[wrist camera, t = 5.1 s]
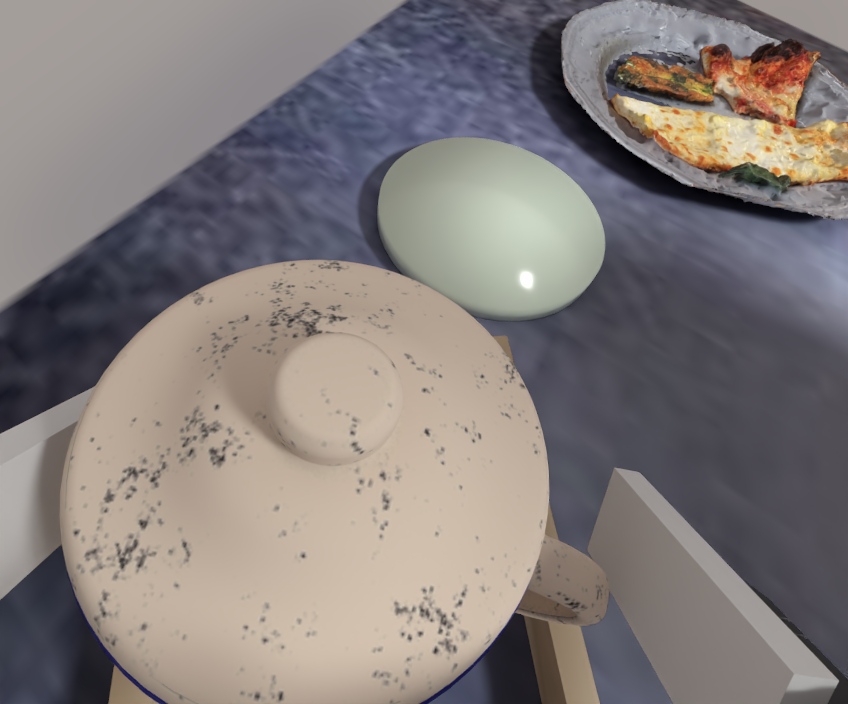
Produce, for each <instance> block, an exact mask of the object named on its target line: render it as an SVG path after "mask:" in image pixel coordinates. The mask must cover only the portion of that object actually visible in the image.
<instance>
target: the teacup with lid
mask: <svg viewBox="0 0 848 704" xmlns="http://www.w3.org/2000/svg"><path fill="white" fill-rule="evenodd" d="M548 505H549V468H548V460H547V451H546V446H545V441H544V437H543V432H542V428H541V425H540V422H539V418H538V415H537V412H536V409H535V406H534V404H533V402H532V399H531V397H530V394H529V392H528V390H527V388H526V386H525V384H524V382H523V380H522V378H521V376H520V374H519V373H518V371H517V369H516V368H515V366H514V365H513V363H512V361H511V360H510V358H509V357H508V355H507V354H506V353H505V351H504V350H503V349H502V348H501V346H500V345H499V344H498V342H497V341H496V340H495V339H494V338H493V337H492V336H491V335H490V333H489V332H488V331H487V330H486V329H485V328H484V327H483V326H482V325H481V324H480V323H479V322H478V321H477V320H476V319H474V318H473V317H472V316H471V315H470V314H469V313H467V312H466V311H465V310H464V309H462V308H461V307H460V306H459V305H457V304H456V303H454V302H453V301H451V300H450V299H448V298H447V297H445V296H444V295H442V294H440V293H439V292H437V291H435V290H433V289H432V288H430V287H428V286H426V285H424V284H422V283H420V282H418V281H416V280H413V279H411V278H409V277H406V276H403V275H401V274H398V273H395V272H392V271H389V270H385V269H382V268H379V267H374V266H370V265H365V264H360V263H353V262H346V261H335V260H299V261H288V262H280V263H274V264H269V265H263V266H259V267H255V268H252V269H248V270H244V271H241V272H238V273H235V274H232V275H229V276H226V277H224V278H221V279H219V280H217V281H214V282H212V283H210V284H207V285H205V286H204V287H202V288H200V289H198V290H196V291H194V292H192V293H190V294H188V295H187V296H185V297H184V298H182V299H180V300H179V301H177V302H176V303H174V304H173V305H171V306H170V307H168V308H167V309H166V310H164V311H163V312H162V313H160V314H159V315H158V316H156V317H155V318H154V319H153V320H151V321H150V322H149V323H148V324H147V325H146V326H145V327H144V328H143V329H141V330H140V331H139V332H138V333H137V334H136V335H135V336H134V337H133V338H132V339H131V340H130V341H129V343H128V344H127V345H126V346H125V347H124V348H123V349H122V350H121V351H120V352H119V354H118V355H117V356H116V357H115V359H114V360H113V361H112V363H111V364H110V365H109V366H108V368H107V369H106V370H105V372H104V373H103V375H102V377H101V378H100V380H99V381H98V383H97V384H96V386H95V388H94V389H93V391H92V393H91V394H90V396H89V398H88V400H87V402H86V404H85V406H84V408H83V410H82V412H81V414H80V417H79V419H78V422H77V424H76V427H75V430H74V432H73V435H72V437H71V441H70V444H69V448H68V452H67V456H66V459H65V463H64V470H63V476H62V483H61V489H60V514H59V516H60V530H61V543H62V548H63V554H64V559H65V564H66V569H67V574H68V578H69V581H70V584H71V587H72V590H73V593H74V596H75V599H76V602H77V605H78V607H79V609H80V611H81V613H82V615H83V617H84V619H85V621H86V623H87V625H88V628H89V629H90V631H91V632H92V634H93V635H94V637H95V639H96V640H97V642H98V643H99V645H100V646H101V648H102V649H103V651H104V652H105V654H106V655H107V656H108V657H109V658H110V659H111V661H112V662H113V663H114V664H115V665H116V667H117V668H118V669H119V670H120V671H121V672H122V674H123V675H124V676H126V677H127V678H128V679H129V680H130V681H131V682H132V683H133V684H134V685H136V686H137V687H138V688H139V689H140V690H141V691H142V692H143V693H144V694H146V695H147V696H149V697H150V698H151V699H153V700H154V701H156V702H157V703H159V704H428V703H429V702H431V701H432V700H434V699H435V698H437V697H438V696H440V695H441V694H442V693H444V692H445V691H447V690H448V689H450V688H451V687H452V686H453V685H454V684H455V683H456V682H458V681H459V680H460V679H461V678H462V677H463V676H465V675H466V674H467V673H468V672H469V671H470V670H471V669H472V668H473V667H474V666H475V665H476V664H477V663H478V662H479V661H480V660H481V659H482V657H483V656H484V655H485V654H486V653H487V652H488V651H489V650H490V648H491V647H492V646H493V644H494V643H495V642H496V641H497V639H498V638H499V637H500V635H501V634H502V633H503V631H504V630H505V628H506V627H507V625H508V623H509V622H510V620H511V618H512V617H513V615H514V614H515V613H518V614H522V615H525V616H529V617H532V618H536V619H541V620H545V621H549V622H554V623H560V624H566V625H575V626H587V625H592V624H596V623H598V622H600V621H601V620H602V619H603V618H604V616H605V614H606V611H607V607H608V599H609V591H610V585H609V580H608V578H607V576H606V574H605V572H604V571H603V570H602V569H601V568H600V566H599V565H597V564H596V563H595V562H594V561H593V560H592V559H590V558H589V557H588V556H586V555H585V554H583V553H582V552H580V551H578V550H577V549H575V548H573V547H571V546H569V545H567V544H565V543H563V542H561V541H559V540H557V539H554V538H552V537H550V536H547V535H545V529H546V522H547V516H548Z"/></svg>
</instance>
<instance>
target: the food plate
mask: <svg viewBox="0 0 848 704" xmlns="http://www.w3.org/2000/svg"><path fill="white" fill-rule="evenodd" d="M660 4H661V3H660ZM660 4H657V2H654V3H653V2H652V1H650V0H649V1H648V0H640V1H639V0H638V1H636V0H619V1H615V2H606V3H604V4H602V5H600V6H596V7H593V8H590V9H586V10H585V11H581V12H579V14H578V15H577V14H576V15H574V17H572V18H571V19H572V20H569V22H568V23H567V25H566V27H565V29H564V31H562V36H561V37H562V38H561V40H562V41H561V49H562V50H561V51H562V53H561V55H562V58H561V59H562V61H561V62H562V68H563V73H564V75H563V77H564V79H565V80H564V81H565V85H566V88H567V89H568V90H569V92H570V93H571V94H572V96H574V99H576V101H577V102H578V103H579V104H581V106H582V107H583V109H585V110H586V112H587V113H589V115H591V118H592V120H595V122H597V124H598V125H599V126H600V128H602V130H605V131H606V133H608V134H610V135H611V137H612V138H613V139H616V141H617V142H618V143H620V144H622V145H623V146H625V148H627V149H628V150H629V151H630V152H631V151H632V153H634V154H635V155H637V156H638V157H639V158H642V159H643V160H644V161H647V162H648V163H649V164H651V165H652V166H654V167H655V168H657V169H658V170H660V171H661V172H663V173H665V174H668V175H669V176H670V177H673V178H675V179H676V180H678V181H679V182H680V183H682V184H684V185H687V184H688V186H690V187H697V188H699V187H700V188H703V189H704V190H708V191H710V192H712V191H714V192H716V193H723V194H726V196H727V195H731V196H734V197H735V198H736V197H738V198H741V199H743V200H744V202H747V201H751V202H753V203H758V204H762V205H767V206H770V207H781V208H784V210H791V211H792V212H794V211H796V212H800V213H803V212H807V213H808V214H811V215H813V216H814V215H819V216H822V217H823V219H825V218H827V216H828V217H829V218H828V219H833V220H835V219H836V220H837V219H839V220H840V219H841V220H842V219H844V220H848V85H847V84H846V83H845V82H843V81H842V80H841V79H840V78H839V77H837V76H836V74H834V73H832V72H831V71H830V70H829V69H828V68H827V67H825V66H823V65H822V64H821V63H819V62H818V61H817V60H818V59H820V58H821V57H820V55H821V54H822V53H821V54H820V52H818V51H815V52H809V51H807V50H805V48H804V47H803V44H802V43H800V42H797V41H796V40H792V39H788V40H785V42H784V41H783V42H781V41H780V40H776V39H774V38H769V37H767V36H764V35H762V34H760V33H759V32H757V31H754V30H752V29H750V27H747V26H746V25H745V24H741V23H740V22H739V23H738V22H736V23H734V21H732V20H731V21H730V20H729V21H727V20H726V19H725V18H721V19H720V17H716V16H714V15H709V14H708V15H707V14H703V13H700V12H697V11H694V10H689V11H687V9H686V8H684V9H680V7H676V6H673V7H672V6H669V5H668V6H667V5H665V4H662V5H660ZM648 50H655V51H657V52H665V53H668V54H673V55H675V56H678V57H680V58H681V56H682V54H681V53H680V54H681V55H679V54H677V55H676V54H674V53H672V52H671V53H669V52H667V51H673V52H677V53H678V52H682V53H683V55H688V56H690V58H689V57H687V56H686V57H684V58H686V59H687V60H685V59H684V58H681V59H682V60H683V61H690V60H693V61H695V62H696V63H692V64H691V65H690V64H689V63H687V62H686V65H683V64H681V63H677V65H679V66H676V65H672V66H669V65H668V64H664V62H663V61H660V60H656V59H653V60H655V61H658V63H659V64H658V63H656V62H654V61H653V60H652V59H649V58H646V59H645V58H644V57H639V56H636V57H635V56H632V57H630V58H629V59H625V60H626V62H625V63H624V64H622V66H618V69H617V71H616V72H615V75H614V80H615V81H616V82H617V83H616V86H617V87H618V88H619V89H623V90H626V91H627V92H631V93H634V94H636V95H640V96H645V97H648V98H651V99H653V100H656V99H657V100H656V101H658V102H660V101H661V102H663V103H664V104H665V105H666V103H667V104H669V105H670V106H671V107H663V106H659V105H654V104H652V103H650V102H643V101H638V100H636V99H634V98H628V97H626V96H625V97H621V96H619V95H618V94H616V95H614V97H613V98H612V99H611V100H609V98H608V90H607V84H606V76H605V71H606V70H607V69H608V66H609V64H612V63H613V59H614V60H618V59H619V55H622V54H631V55H632V53H631V52H635V51H637V52H638V53H641V54H644V53H645V54H653V53H652V52H650V51H648ZM655 53H656V52H655ZM657 55H659V54H657ZM668 56H671V55H668ZM682 57H683V56H682ZM660 62H663V64H664V65H662V64H661V63H660ZM682 66H685V68H683V67H682ZM659 100H660V101H659ZM677 104H678V105H677ZM693 109H694V110H693ZM743 117H744V118H743Z"/></svg>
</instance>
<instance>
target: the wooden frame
mask: <svg viewBox="0 0 848 704" xmlns="http://www.w3.org/2000/svg"><path fill="white" fill-rule="evenodd" d="M492 337H493V338H494V339H495V340H496V341H497V342H498V344H499V345H500V346H501V348H502V349H503V350H504V351H505V353H506V354H507V355H508V357H509V358H510V360H511V361H512V363H513V365H514V361H513V357H512V353H511V349H510V345H509V341H508V337H507V336H492ZM514 366H515V365H514ZM545 535H547V536H550V537H552V538H554V539H557V540H558V536H557V532H556V528H555V524H554V520H553V516H552V512H551V508H550V504H549V505H548V516H547V522H546V529H545ZM524 618H525V623H526V628H527V633H528V638H529V643H530V648H531V653H532V657H533V662H534V667H535V672H536V677H537V682H538V687H539V692H540V696H541V701H542V704H600V702H599V698H598V694H597V690H596V686H595V682H594V678H593V674H592V670H591V666H590V662H589V658H588V654H587V650H586V646H585V643H584V639H583V635H582V631H581V627H580V626H575V625H566V624H560V623H554V622H549V621H545V620H541V619H536V618H532V617H529V616H525V615H524ZM108 704H159V703H157V702H156V701H154V700H153V699H151V698H150V697H149V696H147V695H146V694H144V693H143V692H142V691H141V690H140V689H139V688H138V687H137V686H136V685H134V684H133V683H132V682H131V681H130V680H129V679H128V678H127V677H126V676H124V675H123V674H122V672H121V671H120V670H119V669H118V668H117V667H116V665H115V664H114V670H113V677H112V683H111V690H110V697H109V703H108Z"/></svg>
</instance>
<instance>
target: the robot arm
mask: <svg viewBox="0 0 848 704" xmlns="http://www.w3.org/2000/svg"><path fill="white" fill-rule="evenodd" d="M94 388H95V387H93V388H91V389H89V390H87V391H85V392H83V393H81V394H79V395H77V396H75V397H73V398H71V399H69V400H67V401H65V402H63V403H61V404H59V405H57V406H55V407H53V408H51V409H49V410H47V411H45V412H43V413H41V414H39V415H37V416H35V417H33V418H31V419H29V420H27V421H25V422H23V423H21V424H19V425H17V426H15V427H13V428H11V429H9V430H7V431H5V432H3V433H1V434H0V599H2V598H3V597H4V596H5V595H6V594H7V593H8V592H9V591H10V590H11V589H13V588H14V587H15V586H16V585H17V584H18V583H19V582H20V581H21V580H23V579H24V578H25V577H26V576H27V575H28V574H29V573H30V572H31V571H32V570H34V569H35V568H36V567H37V566H38V565H39V564H40V563H41V562H42V561H43V560H45V559H46V558H47V557H48V556H49V555H50V554H51V553H52V552H53V551H54V550H56V549H57V548H58V547H59V546H60V545H61V544H62V543H61V530H60V516H59V514H60V489H61V483H62V476H63V470H64V463H65V459H66V456H67V452H68V448H69V444H70V441H71V437H72V435H73V432H74V430H75V427H76V424H77V422H78V419H79V417H80V414H81V412H82V410H83V408H84V406H85V404H86V402H87V400H88V398H89V396H90V394H91V393H92V391H93V389H94ZM587 551H588V553H589V554H590V556H591V558H592V560H593V561H594V562H595V563H596V564H597V565H599V566H600V568H601V569H602V570H603V571H604V572H605V574H606V576H607V578H608V580H609V585H610V592H611V594H612V595H613V597H614V599H615V601H616V603H617V604H618V606H619V608H620V610H621V611H622V613H623V615H624V617H625V619H626V620H627V622H628V624H629V626H630V627H631V629H632V631H633V633H634V635H635V636H636V638H637V640H638V642H639V644H640V645H641V647H642V649H643V651H644V652H645V654H646V656H647V658H648V660H649V661H650V663H651V665H652V667H653V668H654V670H655V672H656V674H657V676H658V677H659V679H660V681H661V683H662V684H663V686H664V688H665V690H666V692H667V693H668V695H669V697H670V699H671V701H672V702H673V704H848V680H847V679H846V677H845V676H844V675H843V674H842V673H841V672H840V671H839V670H838V669H837V668H836V667H835V666H834V665H833V664H832V663H831V662H830V661H829V660H828V659H827V658H826V657H825V656H824V655H823V654H822V653H821V652H820V651H819V650H818V649H817V648H816V647H815V646H814V645H813V644H812V643H811V642H810V641H809V640H808V639H804V635H803V634H802V633H801V632H800V630H799V629H798V628H797V627H796V626H795V625H794V624H793V623H792V622H788V620H787V619H788V618H787V617H786V616H785V615H784V614H783V613H782V612H781V611H780V610H779V609H778V608H777V607H776V606H775V605H774V604H773V603H772V602H771V601H770V600H769V599H768V598H767V597H765V596H764V595H763V594H761V593H760V592H759V591H757V590H756V589H755V588H753V587H752V586H750V585H749V584H748V583H746V582H745V581H744V580H742V579H741V578H740V577H739V576H738V575H737V574H736V572H735V571H734V570H733V569H732V568H731V567H730V566H729V565H728V564H727V563H726V562H725V561H724V560H723V559H722V558H721V557H720V556H719V555H718V554H717V553H716V552H715V551H714V550H713V548H712V547H711V546H710V545H709V544H708V543H707V542H706V541H705V540H704V539H703V538H702V537H701V536H700V535H699V534H698V533H697V532H696V531H695V530H694V529H693V528H692V527H691V526H690V524H689V523H688V522H687V521H686V520H685V519H684V518H683V517H682V516H681V515H680V514H679V513H678V512H677V511H676V510H675V509H674V508H673V507H672V506H671V505H670V504H669V503H668V502H667V500H666V499H665V498H664V497H663V496H662V495H661V494H660V493H659V492H658V491H657V490H656V489H655V488H654V487H653V486H652V485H651V484H650V483H649V482H648V481H647V480H646V479H645V477H644V476H643V475H642V474H641V473H640V472H636V471H631V470H625V469H620V468H614V470H613V473H612V476H611V479H610V482H609V485H608V488H607V491H606V494H605V497H604V500H603V503H602V506H601V509H600V512H599V515H598V518H597V520H596V523H595V526H594V529H593V532H592V535H591V538H590V541H589V544H588V547H587Z"/></svg>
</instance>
